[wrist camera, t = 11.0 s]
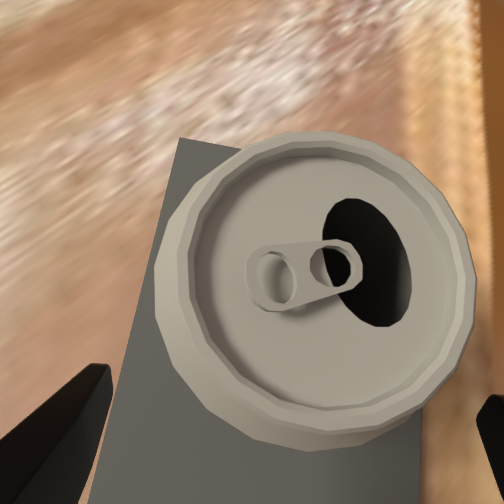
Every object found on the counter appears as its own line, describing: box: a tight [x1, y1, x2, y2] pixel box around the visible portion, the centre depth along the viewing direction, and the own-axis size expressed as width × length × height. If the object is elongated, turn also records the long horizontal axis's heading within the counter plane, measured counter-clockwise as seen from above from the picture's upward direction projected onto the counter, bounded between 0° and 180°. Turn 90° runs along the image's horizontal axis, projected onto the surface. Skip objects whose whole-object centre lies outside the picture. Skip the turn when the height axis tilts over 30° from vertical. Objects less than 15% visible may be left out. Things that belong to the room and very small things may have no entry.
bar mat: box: [87, 138, 423, 504], centre depth 18 cm, size 22×15×1 cm
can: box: [154, 131, 477, 452], centre depth 13 cm, size 8×8×12 cm
